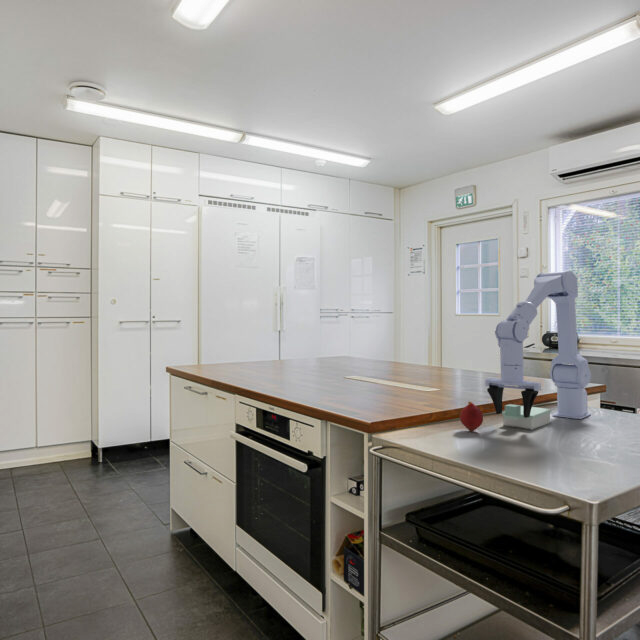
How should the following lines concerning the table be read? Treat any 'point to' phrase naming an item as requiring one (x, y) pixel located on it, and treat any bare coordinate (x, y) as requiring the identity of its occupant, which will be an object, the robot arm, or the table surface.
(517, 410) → the lid
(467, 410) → the onion
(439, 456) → the table surface
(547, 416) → the tub
